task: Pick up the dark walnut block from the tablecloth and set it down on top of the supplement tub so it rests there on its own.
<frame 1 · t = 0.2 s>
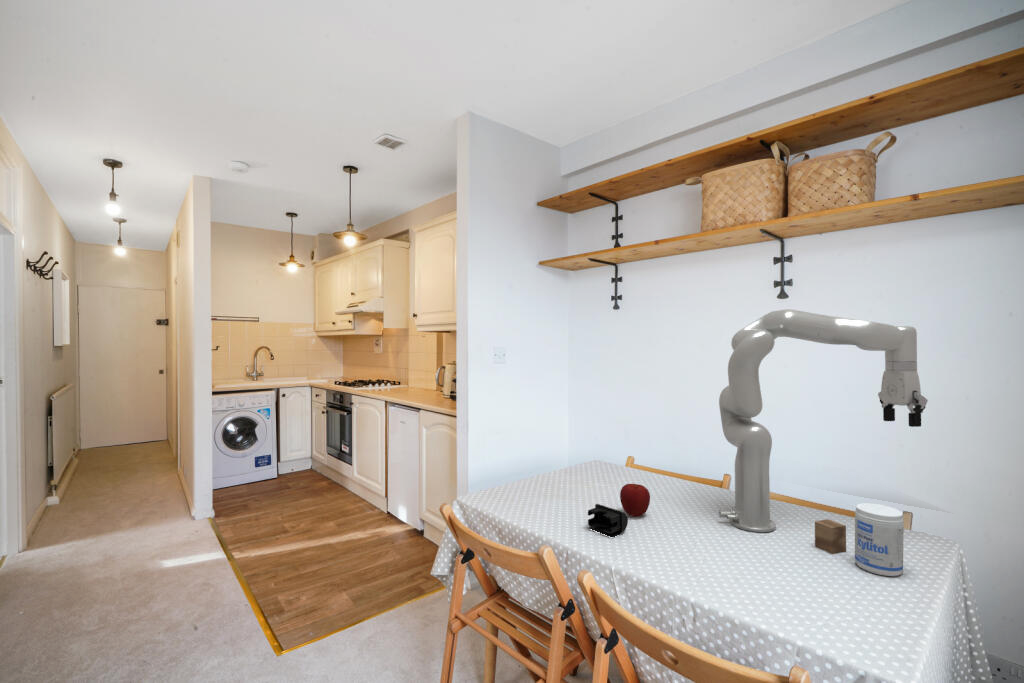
hand: (901, 423, 145), 31 cm above the table, fingers open, 9 cm apart
walnut block: (830, 549, 130), on the table
supplement tub: (878, 569, 118), on the table
apple: (635, 515, 156), on the table
end cap: (607, 531, 144), on the table
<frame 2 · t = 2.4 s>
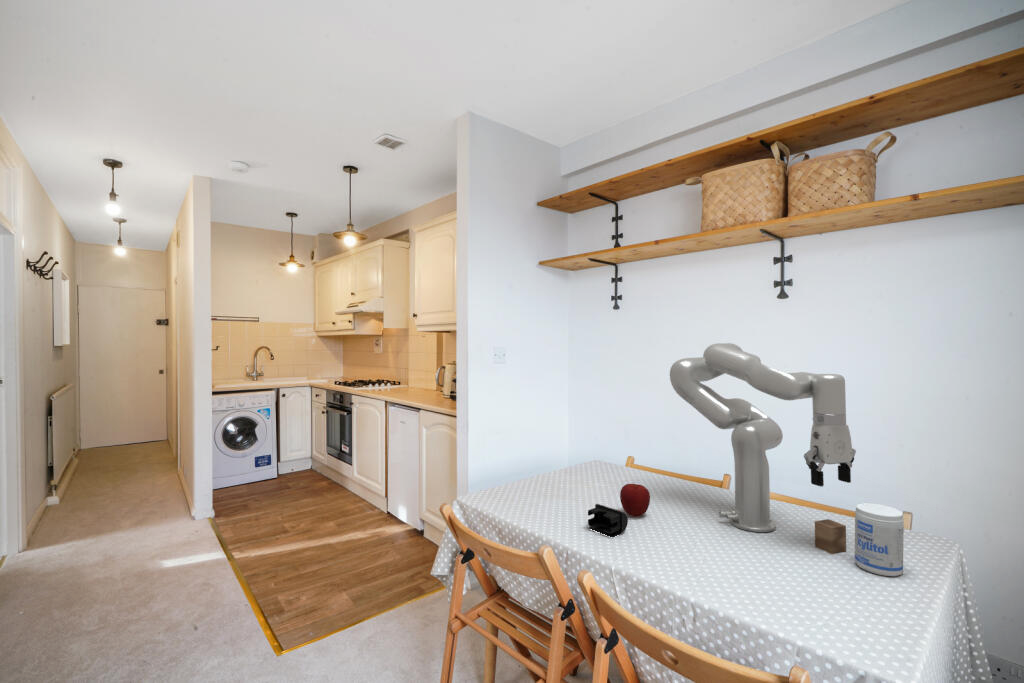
hand: (831, 483, 129), 18 cm above the table, fingers open, 9 cm apart
nothing on the table moved.
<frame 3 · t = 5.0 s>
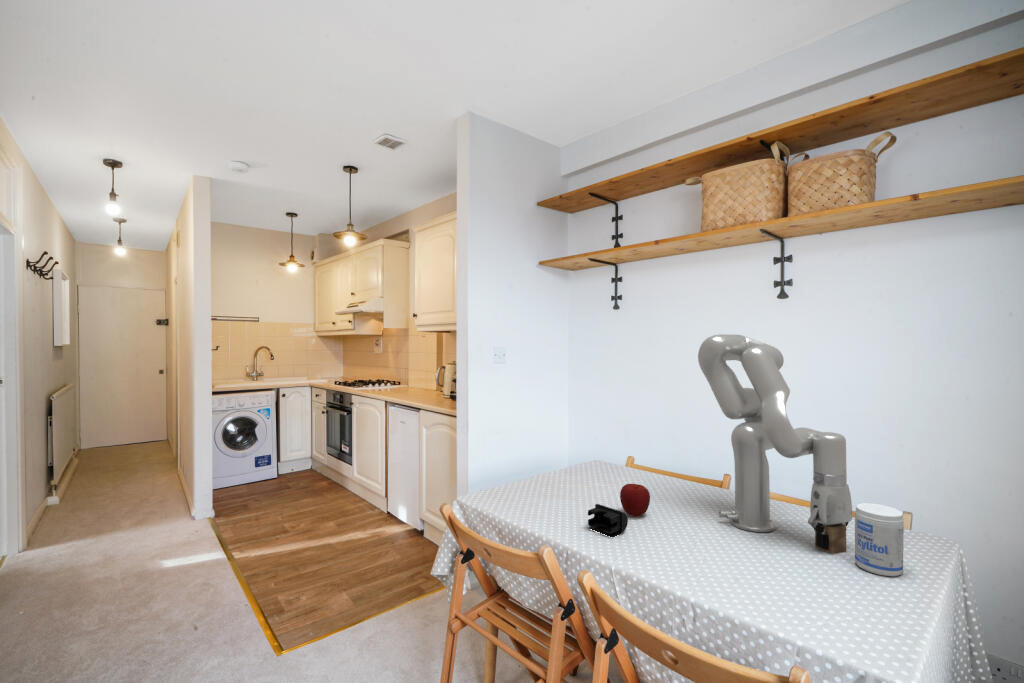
hand: (830, 545, 130), 1 cm above the table, fingers closed on walnut block, 5 cm apart
walnut block: (830, 549, 130), on the table, touching gripper
everything else where it was.
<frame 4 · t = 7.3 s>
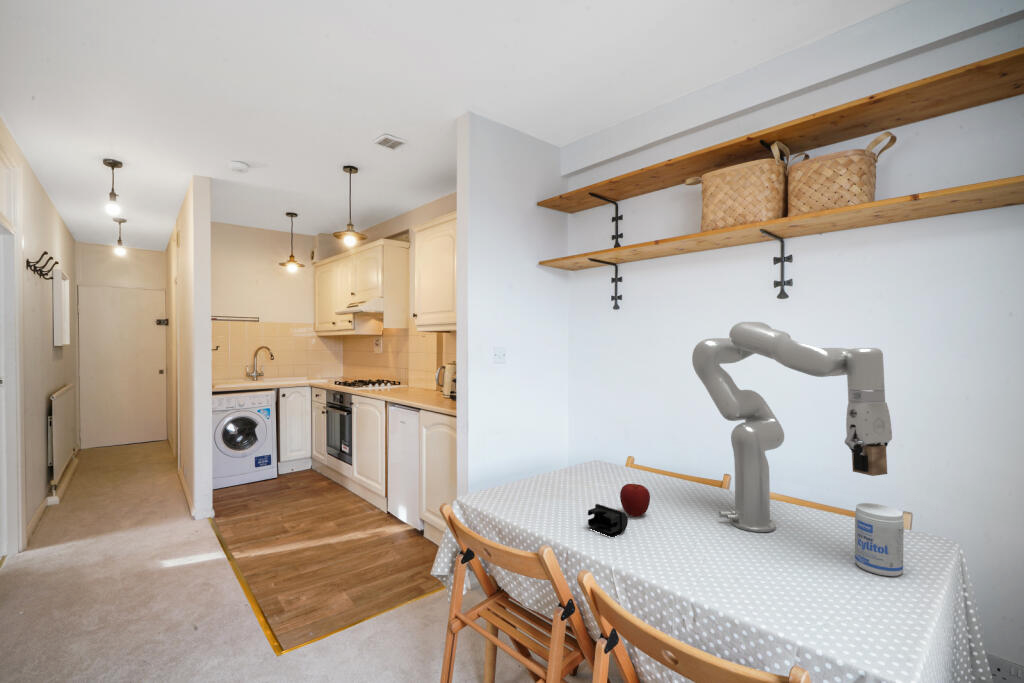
hand: (869, 468, 120), 24 cm above the table, fingers closed on walnut block, 5 cm apart
walnut block: (869, 472, 120), point 23 cm above the table, touching gripper
everything else where it was.
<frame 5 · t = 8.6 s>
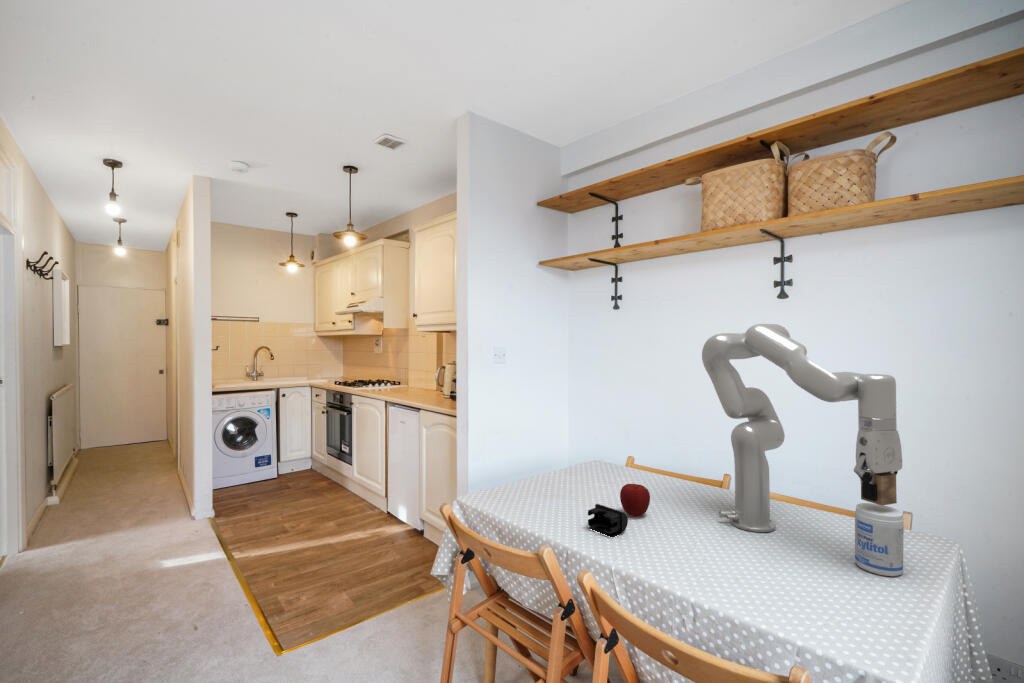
hand: (878, 497, 118), 18 cm above the table, fingers closed on walnut block, 5 cm apart
walnut block: (878, 501, 118), point 17 cm above the table, touching gripper
everything else where it was.
when the fingers open (17 cm above the table, at t = 9.7 s): walnut block drops 2 cm, resting on supplement tub.
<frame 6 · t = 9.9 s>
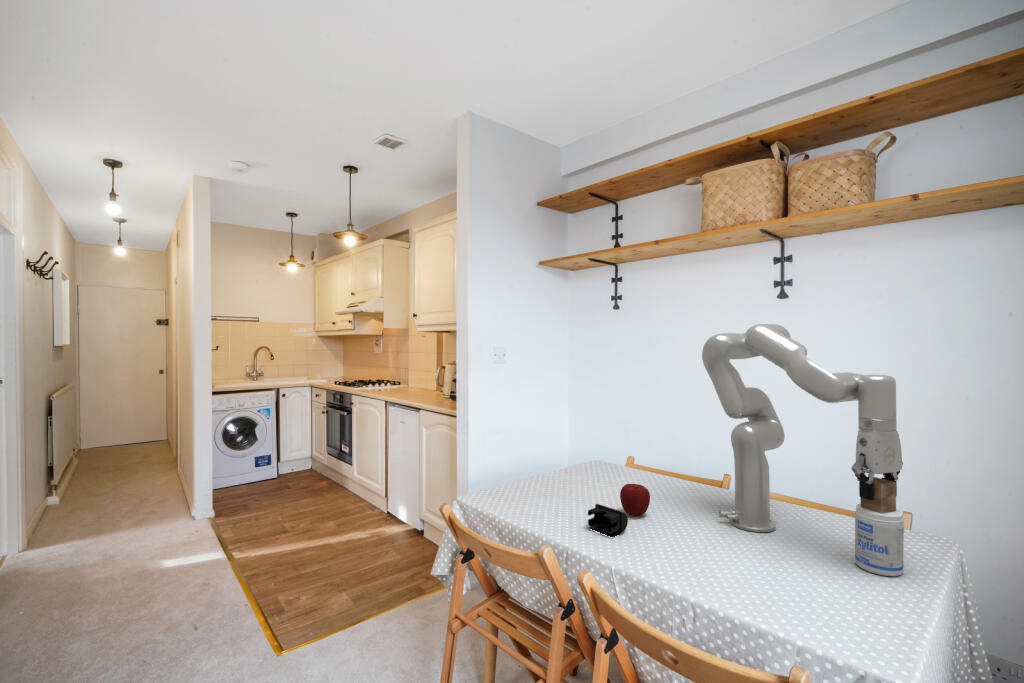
hand: (878, 496, 118), 18 cm above the table, fingers open, 7 cm apart
walnut block: (878, 508, 118), point 15 cm above the table, touching supplement tub
supplement tub: (879, 569, 118), on the table, touching walnut block
everything else where it was.
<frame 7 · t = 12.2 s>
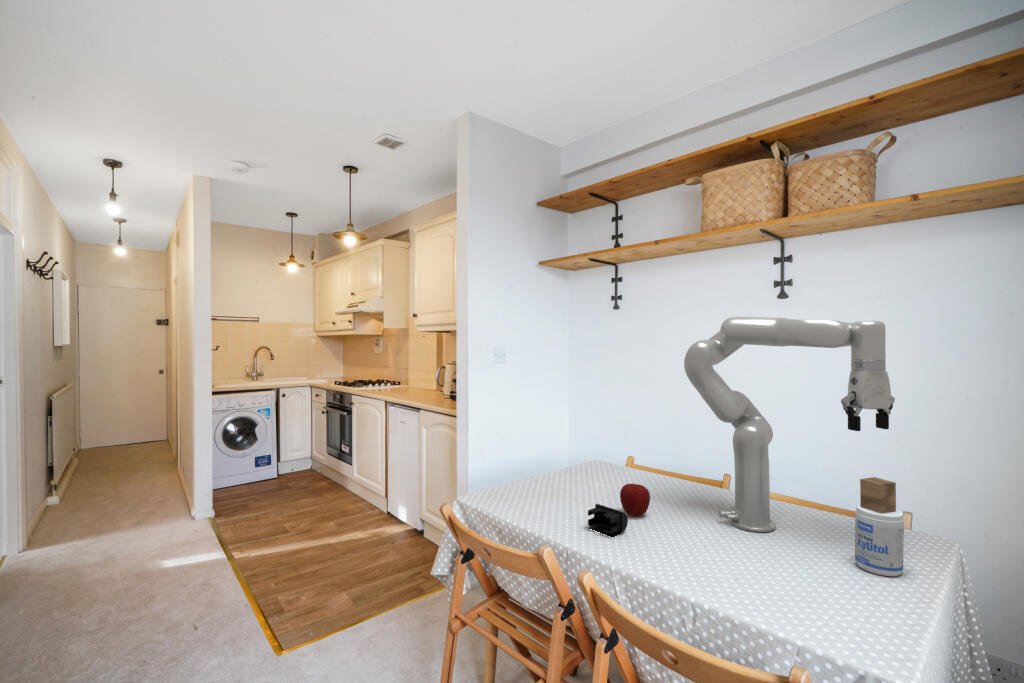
hand: (868, 429, 130), 32 cm above the table, fingers open, 9 cm apart
nothing on the table moved.
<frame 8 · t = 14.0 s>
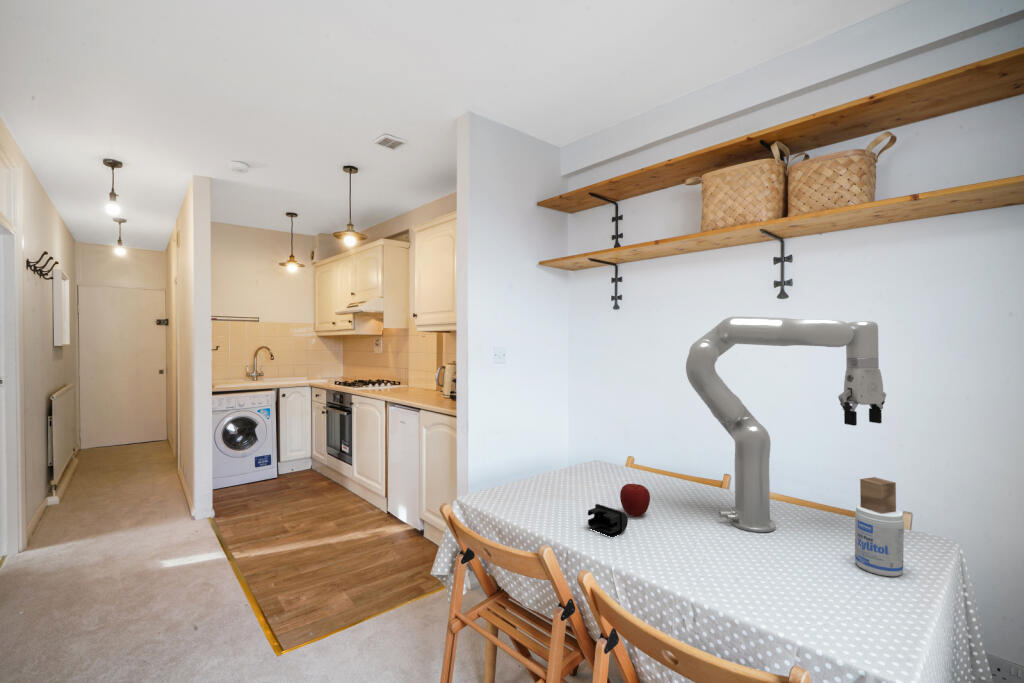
hand: (863, 423, 138), 32 cm above the table, fingers open, 9 cm apart
nothing on the table moved.
at the end: walnut block inside the target area on the supplement tub (0.1 cm from its centre), point 14.9 cm above the supplement tub's base; walnut block tilted 0°; the gripper is holding nothing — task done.
